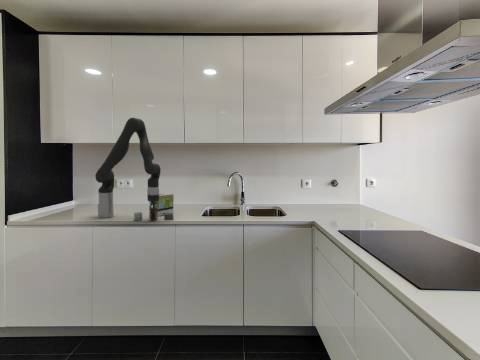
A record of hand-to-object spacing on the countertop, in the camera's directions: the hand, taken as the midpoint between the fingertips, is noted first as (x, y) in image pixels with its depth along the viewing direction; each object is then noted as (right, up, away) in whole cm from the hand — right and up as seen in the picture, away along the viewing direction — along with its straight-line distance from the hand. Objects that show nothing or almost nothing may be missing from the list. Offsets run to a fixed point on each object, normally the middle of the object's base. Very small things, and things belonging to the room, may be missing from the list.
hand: (153, 218), depth 201 cm
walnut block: (0, -1, 0) cm, 1 cm away
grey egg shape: (-10, -1, -1) cm, 10 cm away
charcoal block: (+10, -1, +2) cm, 10 cm away
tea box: (0, +1, +20) cm, 20 cm away
